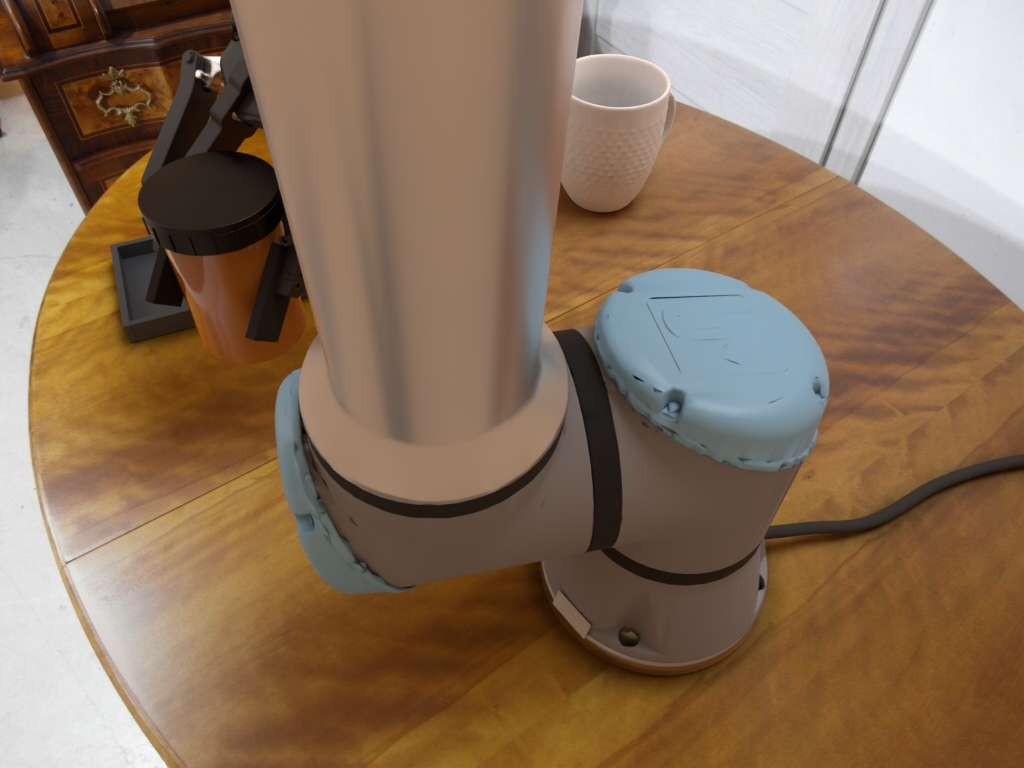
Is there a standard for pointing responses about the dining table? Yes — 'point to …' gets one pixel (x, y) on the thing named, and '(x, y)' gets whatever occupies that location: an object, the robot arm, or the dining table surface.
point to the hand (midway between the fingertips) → (211, 321)
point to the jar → (233, 301)
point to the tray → (145, 293)
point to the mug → (614, 129)
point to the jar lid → (211, 203)
